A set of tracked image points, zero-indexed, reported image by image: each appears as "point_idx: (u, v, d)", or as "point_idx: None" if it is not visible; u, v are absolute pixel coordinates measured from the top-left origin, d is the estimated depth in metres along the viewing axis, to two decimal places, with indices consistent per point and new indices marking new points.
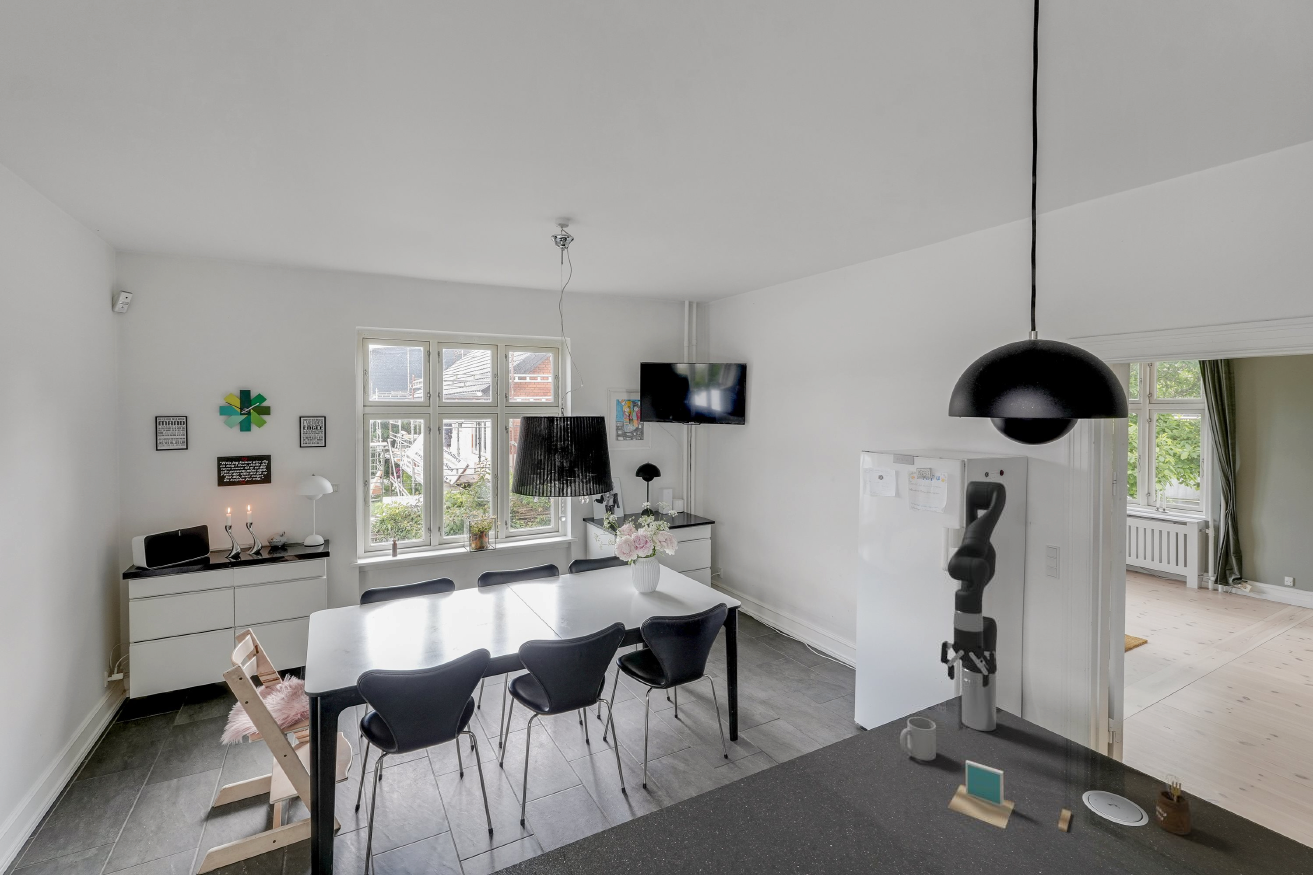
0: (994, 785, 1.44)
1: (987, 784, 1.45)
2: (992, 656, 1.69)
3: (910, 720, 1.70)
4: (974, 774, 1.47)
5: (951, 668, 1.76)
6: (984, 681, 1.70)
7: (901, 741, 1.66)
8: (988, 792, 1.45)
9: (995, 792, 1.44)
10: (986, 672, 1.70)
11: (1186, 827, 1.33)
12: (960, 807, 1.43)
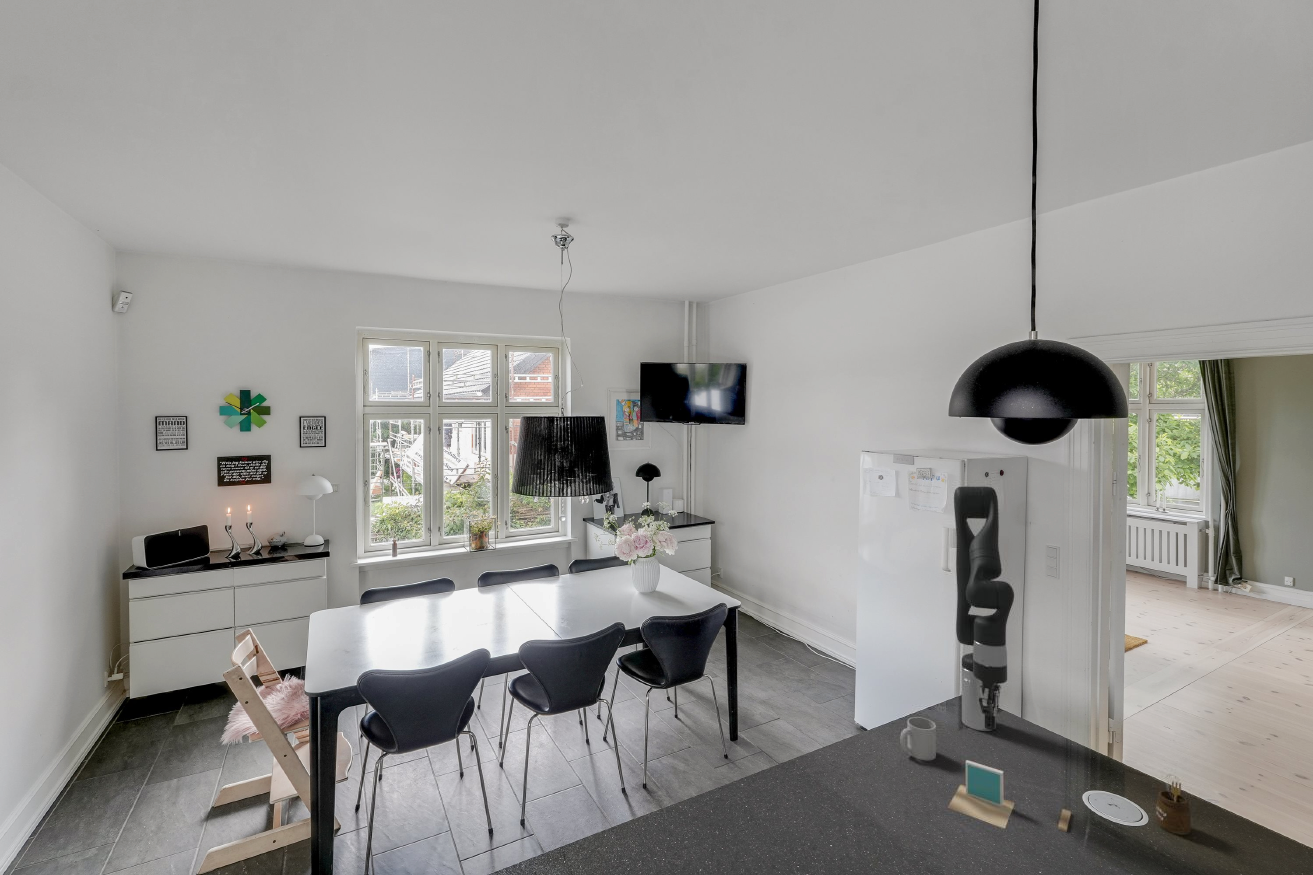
0: (994, 785, 1.44)
1: (987, 784, 1.45)
2: None
3: (910, 720, 1.70)
4: (974, 774, 1.47)
5: (994, 716, 1.51)
6: None
7: (901, 741, 1.66)
8: (988, 792, 1.45)
9: (995, 792, 1.44)
10: (996, 710, 1.51)
11: (1186, 827, 1.33)
12: (960, 807, 1.43)
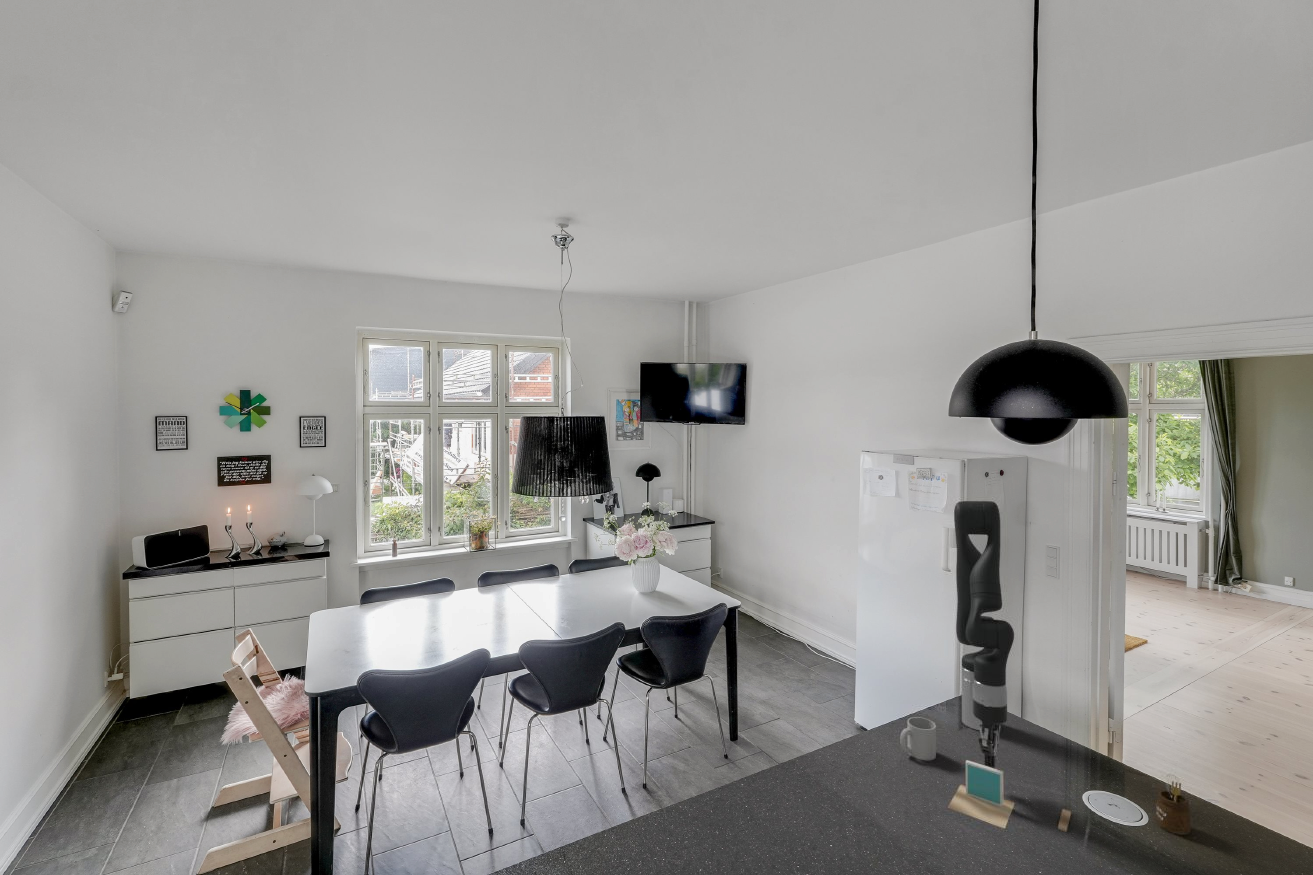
0: (994, 785, 1.44)
1: (987, 784, 1.45)
2: None
3: (910, 720, 1.70)
4: (974, 774, 1.47)
5: (994, 756, 1.50)
6: None
7: (901, 741, 1.66)
8: (988, 792, 1.45)
9: (995, 792, 1.44)
10: (996, 749, 1.51)
11: (1186, 827, 1.33)
12: (960, 807, 1.43)
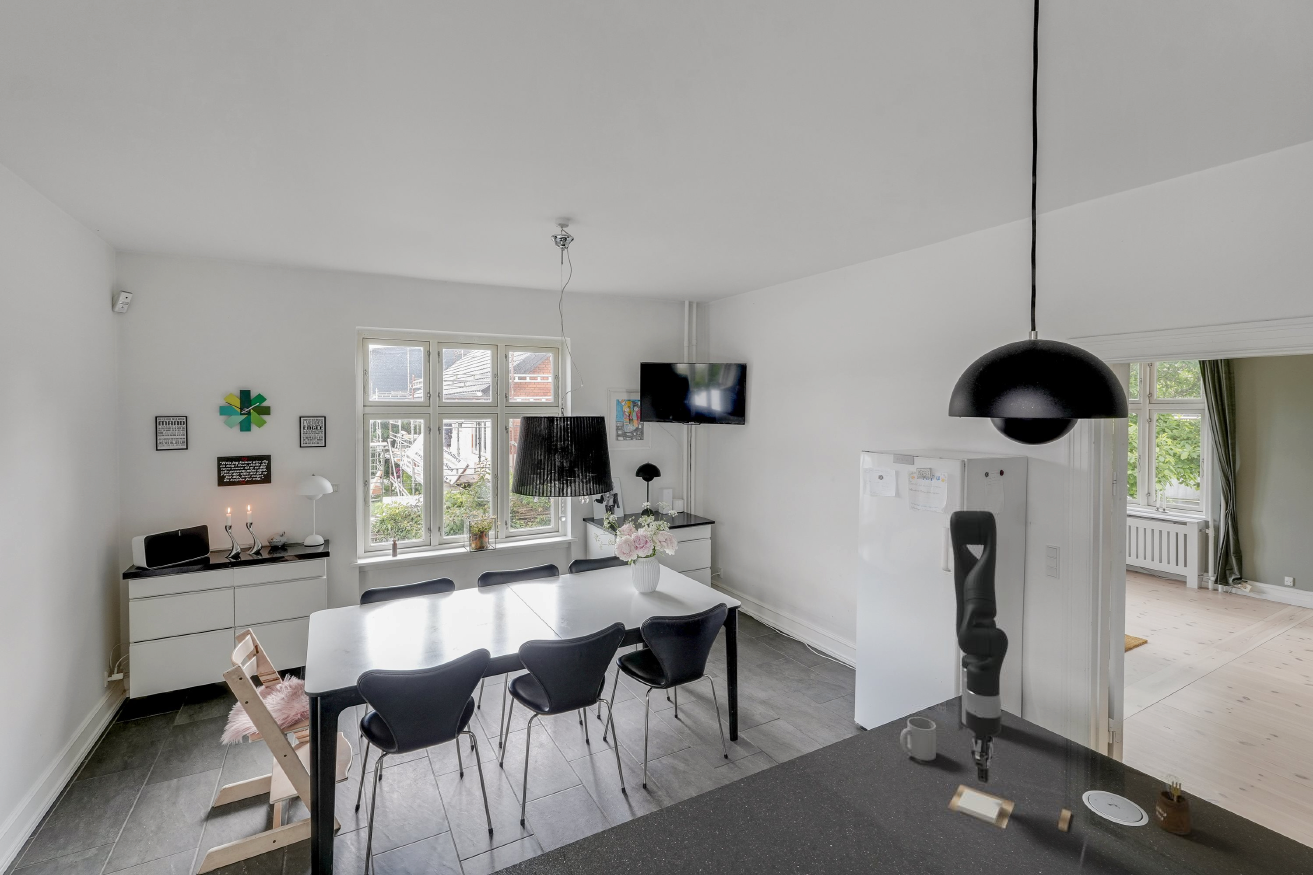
0: None
1: None
2: None
3: (910, 720, 1.70)
4: None
5: (988, 768, 1.44)
6: None
7: (901, 741, 1.66)
8: None
9: None
10: None
11: (1186, 827, 1.33)
12: None
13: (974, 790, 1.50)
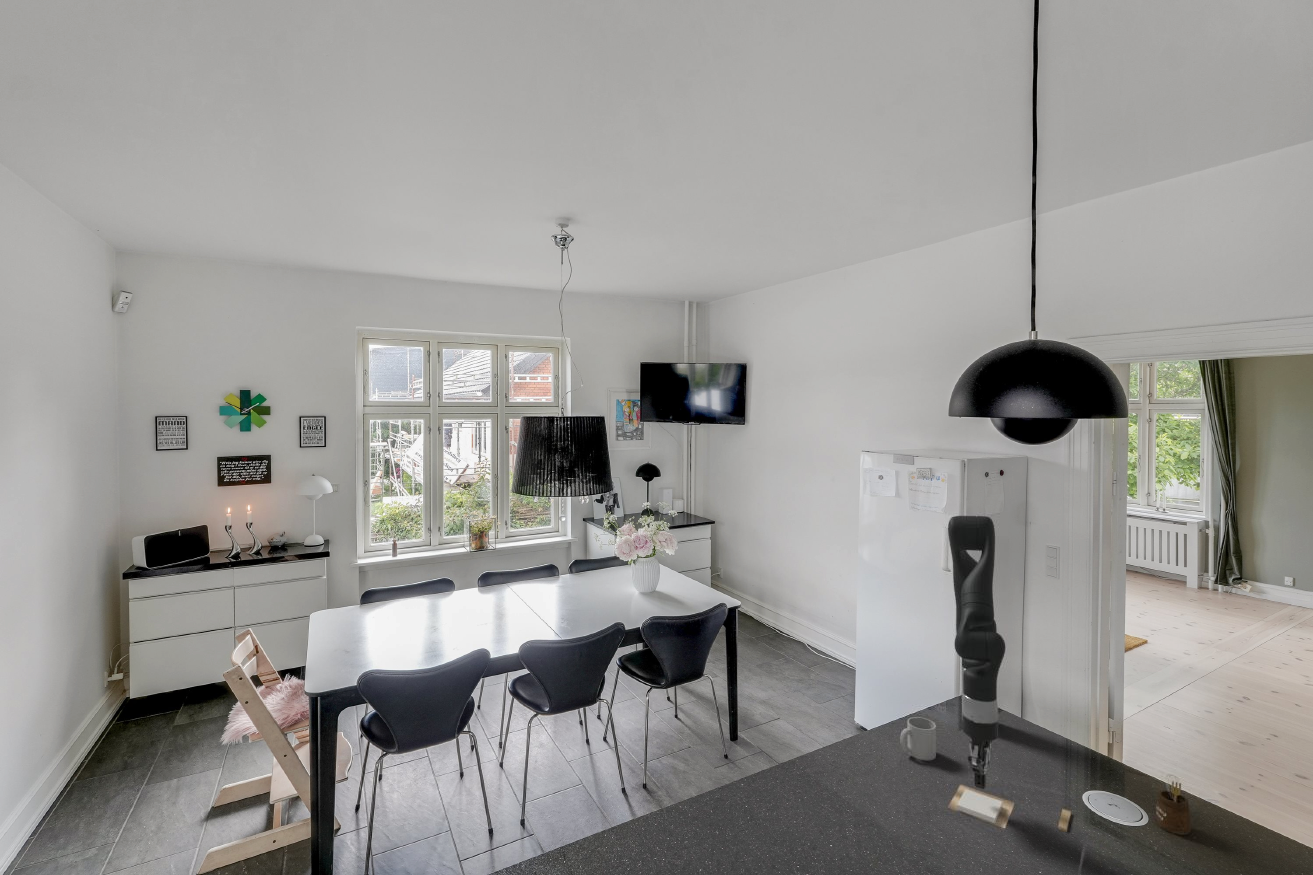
0: None
1: None
2: None
3: (910, 720, 1.70)
4: None
5: (985, 774, 1.42)
6: None
7: (901, 741, 1.66)
8: None
9: None
10: None
11: (1186, 827, 1.33)
12: None
13: (974, 790, 1.50)
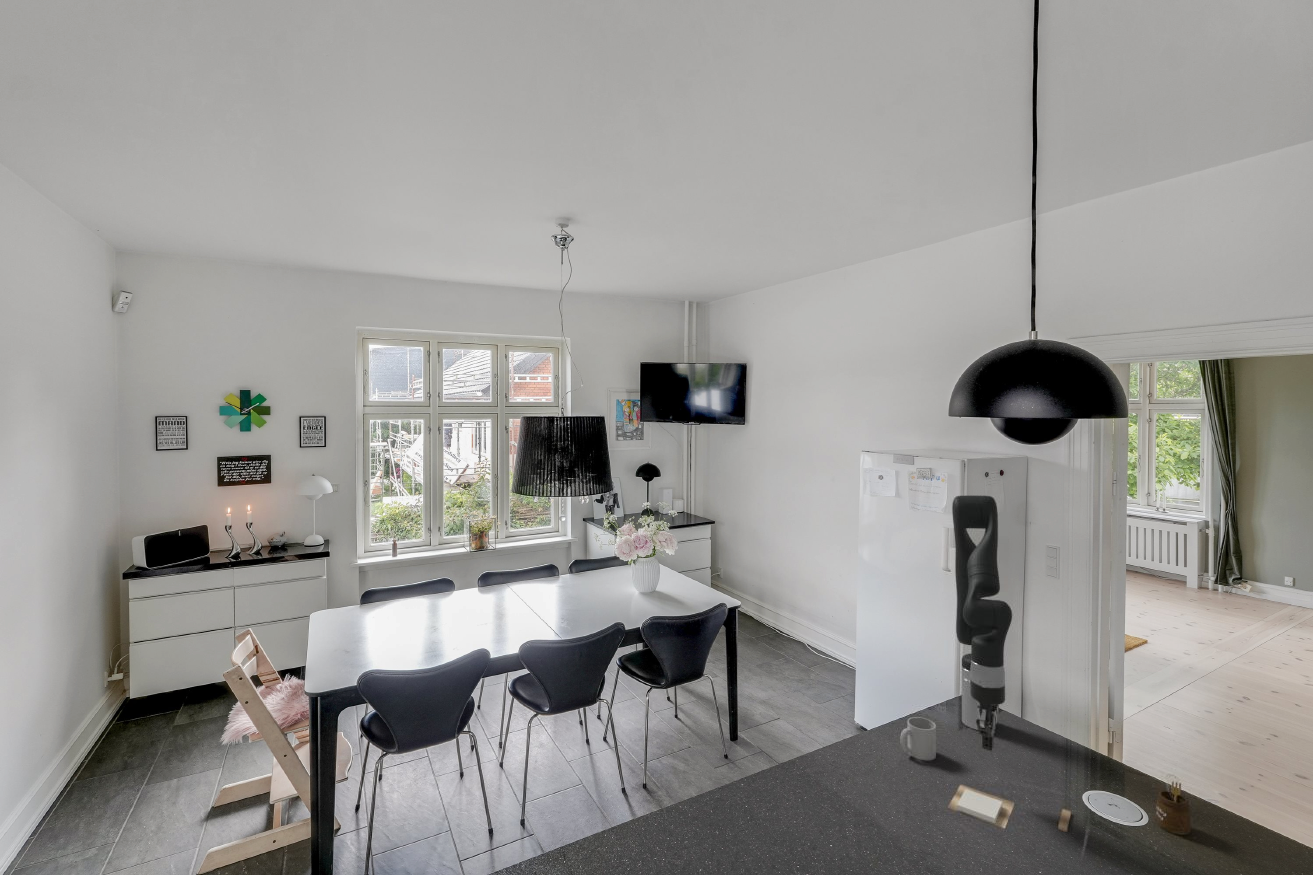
0: None
1: None
2: (997, 708, 1.52)
3: (910, 720, 1.70)
4: None
5: (992, 737, 1.48)
6: None
7: (901, 741, 1.66)
8: None
9: None
10: (994, 730, 1.49)
11: (1186, 827, 1.33)
12: None
13: (974, 790, 1.50)
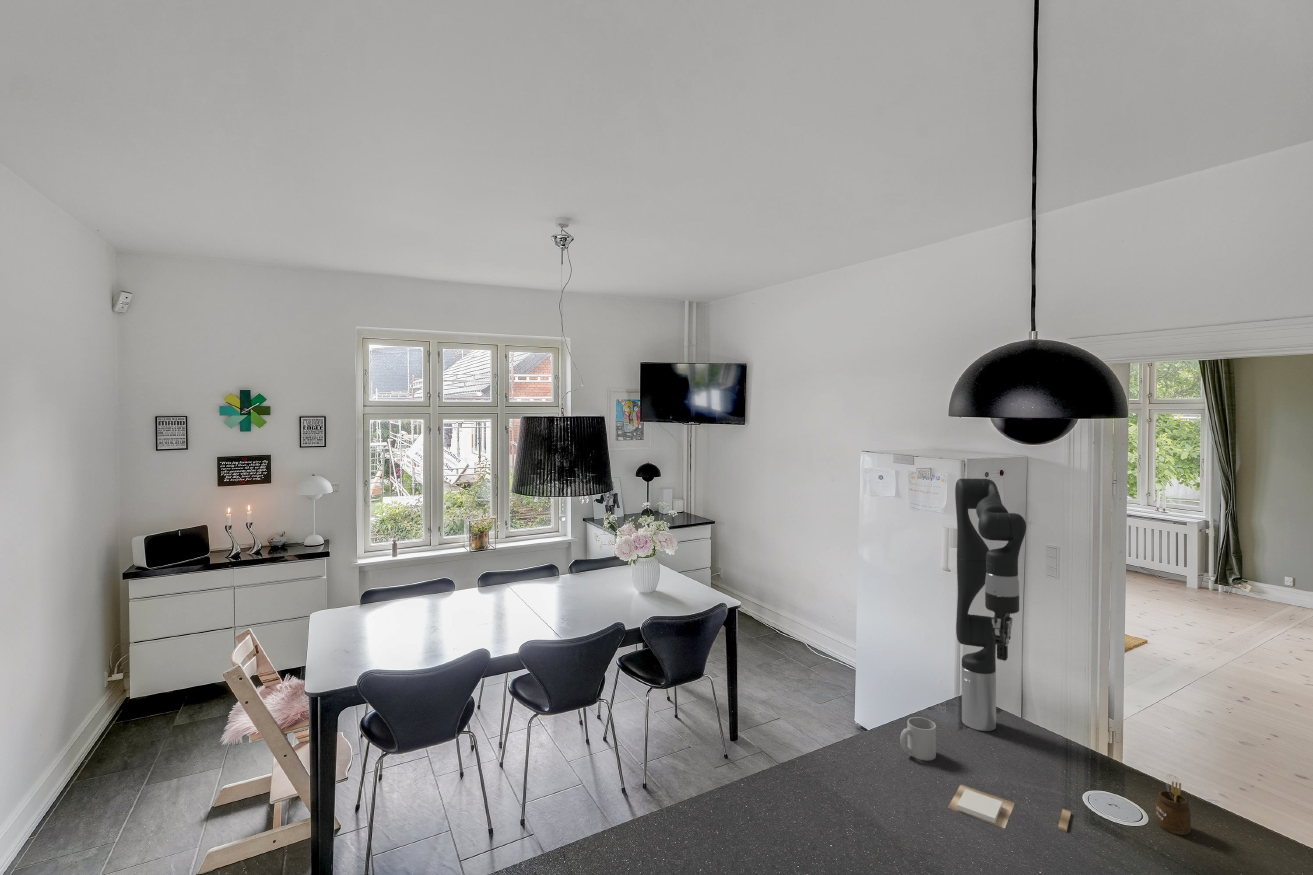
0: None
1: None
2: None
3: (910, 720, 1.70)
4: None
5: (1006, 647, 1.52)
6: None
7: (901, 741, 1.66)
8: None
9: None
10: (1008, 641, 1.53)
11: (1186, 827, 1.33)
12: None
13: (974, 790, 1.50)
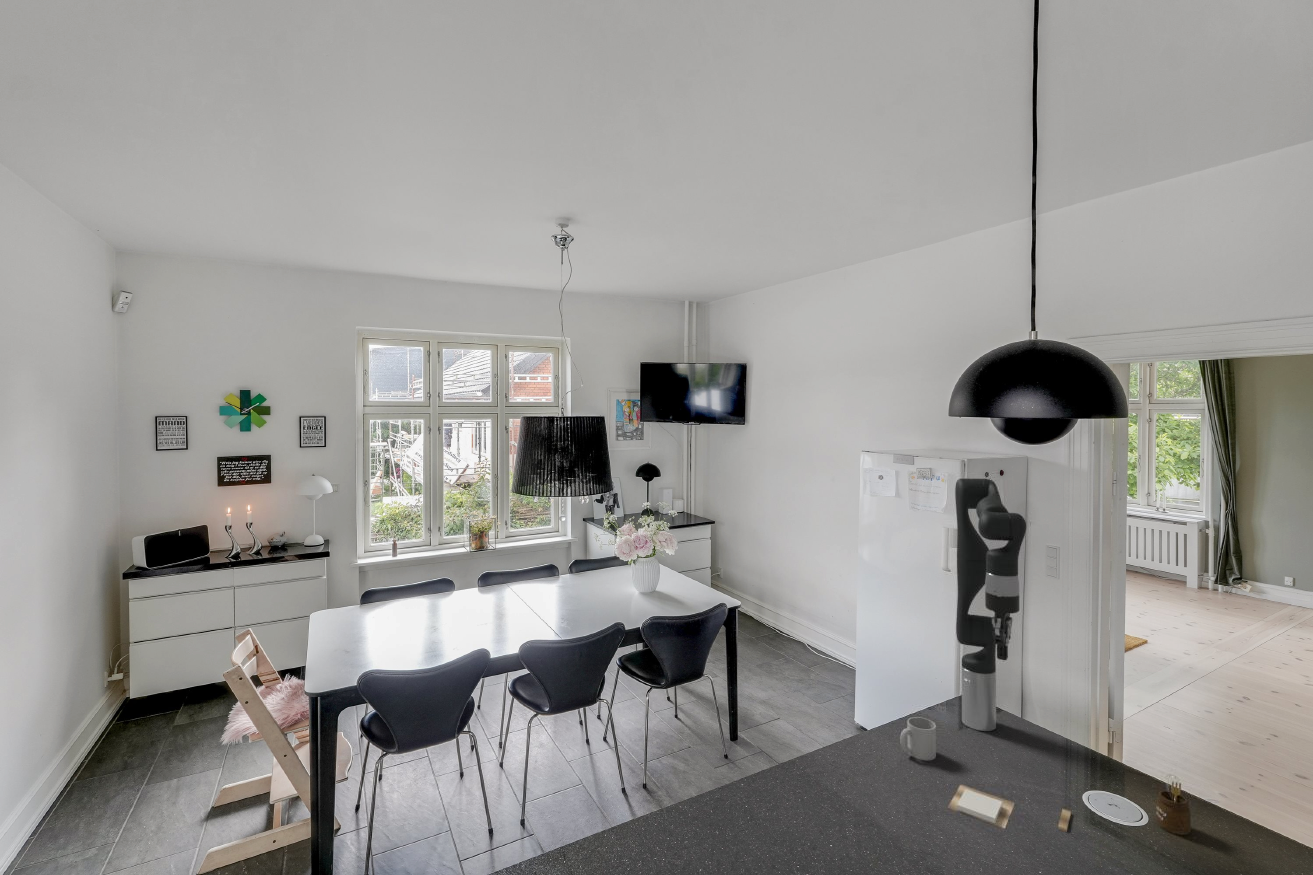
0: None
1: None
2: None
3: (910, 720, 1.70)
4: None
5: (1006, 647, 1.52)
6: None
7: (901, 741, 1.66)
8: None
9: None
10: (1008, 641, 1.53)
11: (1186, 827, 1.33)
12: None
13: (974, 790, 1.50)
